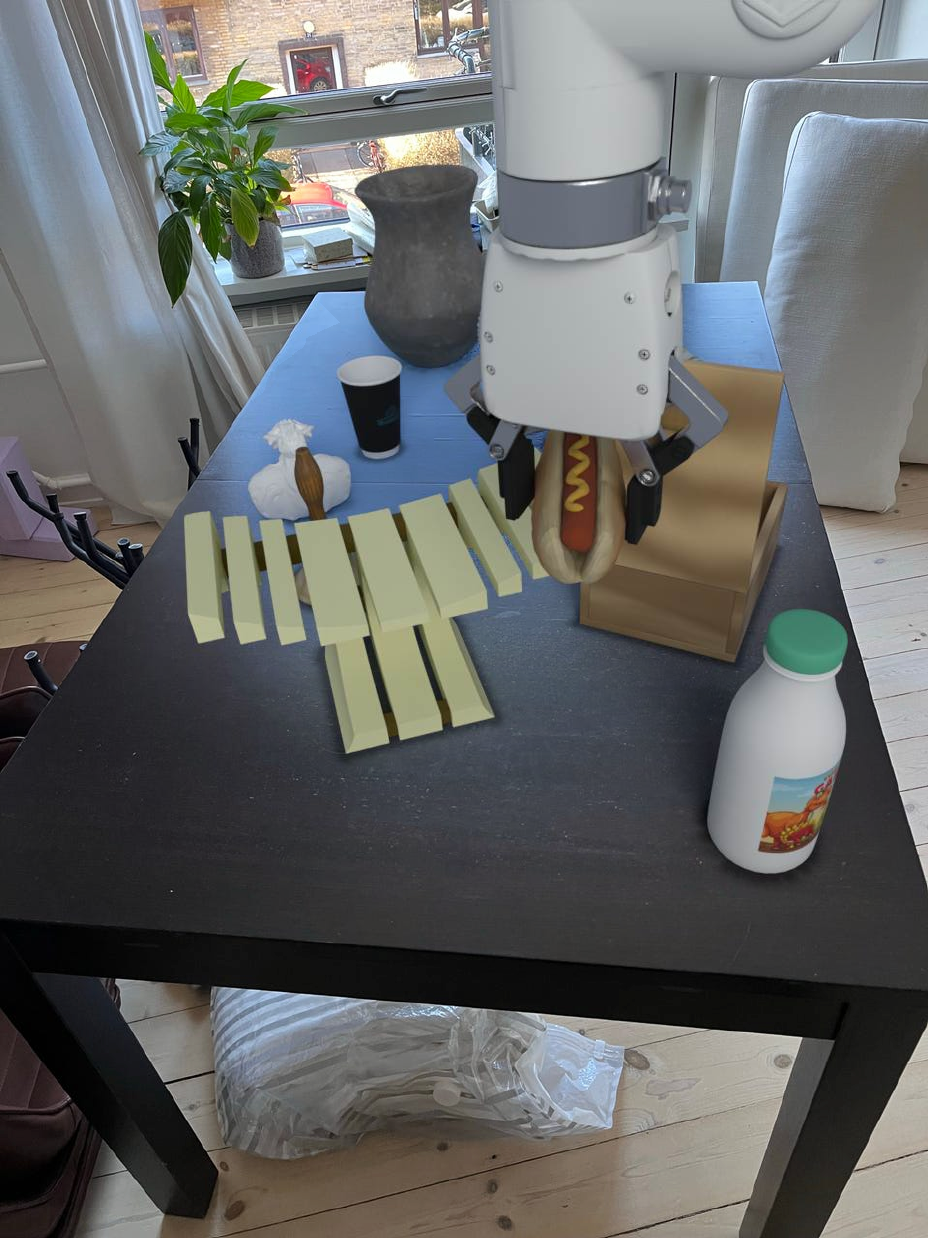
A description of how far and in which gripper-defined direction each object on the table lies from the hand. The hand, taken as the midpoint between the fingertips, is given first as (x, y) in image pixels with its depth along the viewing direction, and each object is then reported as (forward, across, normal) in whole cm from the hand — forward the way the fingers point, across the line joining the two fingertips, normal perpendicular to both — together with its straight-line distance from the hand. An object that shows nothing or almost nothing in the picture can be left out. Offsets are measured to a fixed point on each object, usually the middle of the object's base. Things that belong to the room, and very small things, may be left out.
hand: (578, 517), depth 53 cm
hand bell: (+26, +33, -16) cm, 45 cm away
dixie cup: (+26, +43, -42) cm, 66 cm away
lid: (+8, -1, -20) cm, 21 cm away
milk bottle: (+27, -14, -2) cm, 30 cm away
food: (+1, 0, 0) cm, 1 cm away
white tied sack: (+26, +45, -28) cm, 59 cm away
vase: (+26, +49, -70) cm, 89 cm away
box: (+26, 0, -29) cm, 39 cm away
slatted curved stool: (+26, +20, -7) cm, 33 cm away
